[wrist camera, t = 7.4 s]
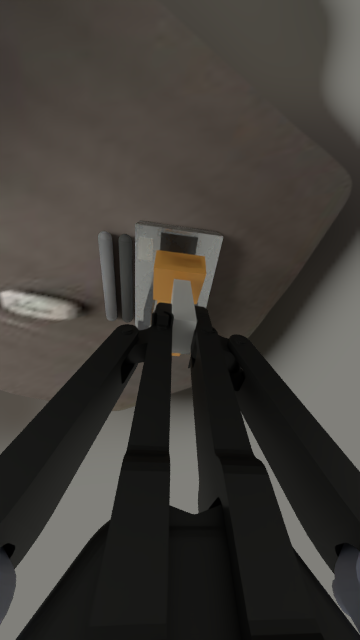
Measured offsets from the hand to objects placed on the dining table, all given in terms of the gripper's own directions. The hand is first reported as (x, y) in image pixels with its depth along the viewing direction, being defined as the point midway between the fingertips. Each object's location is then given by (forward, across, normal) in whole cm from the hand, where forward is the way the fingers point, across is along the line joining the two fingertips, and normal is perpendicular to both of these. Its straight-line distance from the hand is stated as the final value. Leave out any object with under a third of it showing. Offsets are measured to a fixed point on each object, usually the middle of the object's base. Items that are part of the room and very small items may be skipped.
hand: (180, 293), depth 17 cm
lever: (+6, 0, -6) cm, 9 cm away
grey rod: (+16, -11, -6) cm, 20 cm away
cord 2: (+16, -8, -6) cm, 19 cm away
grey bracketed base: (+16, 0, -6) cm, 17 cm away
